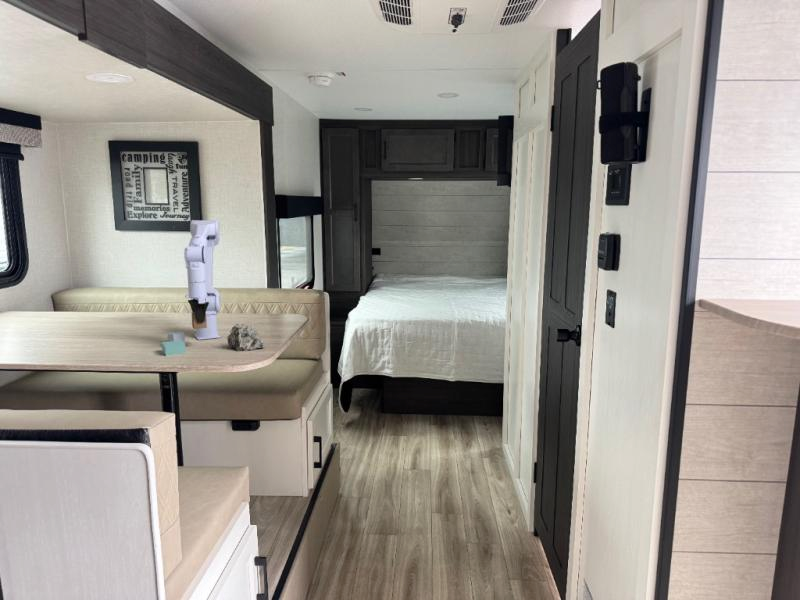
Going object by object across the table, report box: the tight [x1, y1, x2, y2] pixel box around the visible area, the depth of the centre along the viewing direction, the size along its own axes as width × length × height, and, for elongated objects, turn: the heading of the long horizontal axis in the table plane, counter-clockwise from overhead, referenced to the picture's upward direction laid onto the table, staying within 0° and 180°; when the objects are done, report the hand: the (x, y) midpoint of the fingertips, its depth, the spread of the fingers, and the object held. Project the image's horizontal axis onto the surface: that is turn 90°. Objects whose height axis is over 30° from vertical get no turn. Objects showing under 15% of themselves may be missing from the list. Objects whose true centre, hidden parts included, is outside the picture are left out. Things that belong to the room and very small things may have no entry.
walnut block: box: [191, 311, 207, 330], centre depth 180 cm, size 4×4×5 cm
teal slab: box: [161, 340, 186, 357], centre depth 174 cm, size 6×6×4 cm
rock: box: [226, 323, 265, 351], centre depth 181 cm, size 13×10×10 cm
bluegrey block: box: [167, 330, 186, 345], centre depth 182 cm, size 4×4×5 cm
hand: (199, 321), depth 180 cm, fingers closed on walnut block, 4 cm apart
